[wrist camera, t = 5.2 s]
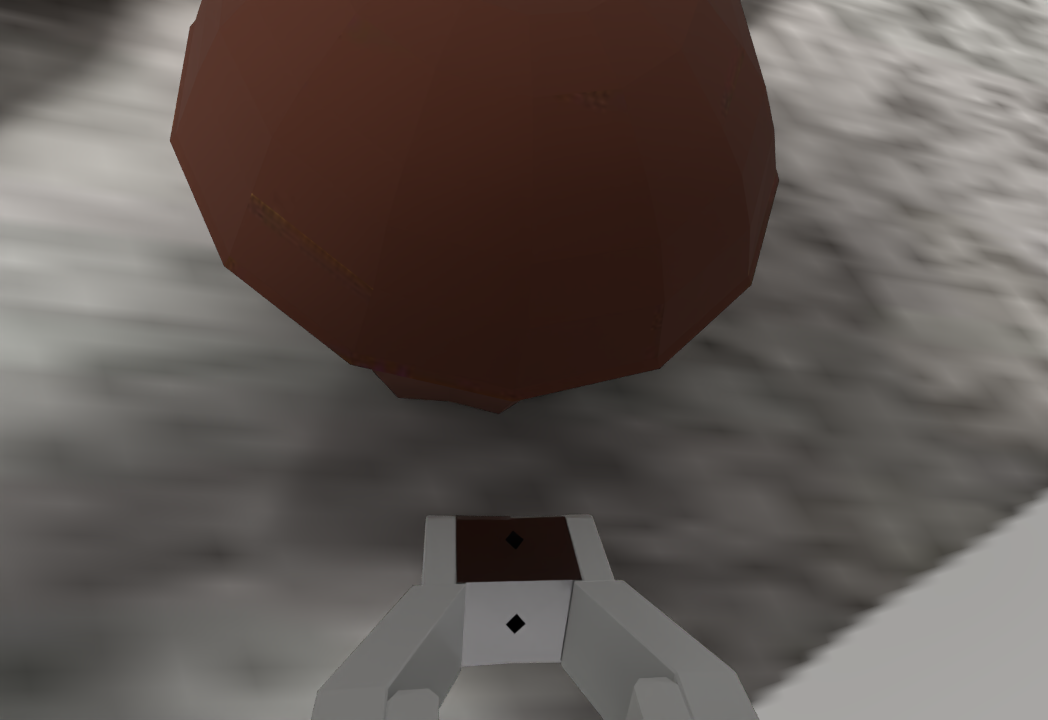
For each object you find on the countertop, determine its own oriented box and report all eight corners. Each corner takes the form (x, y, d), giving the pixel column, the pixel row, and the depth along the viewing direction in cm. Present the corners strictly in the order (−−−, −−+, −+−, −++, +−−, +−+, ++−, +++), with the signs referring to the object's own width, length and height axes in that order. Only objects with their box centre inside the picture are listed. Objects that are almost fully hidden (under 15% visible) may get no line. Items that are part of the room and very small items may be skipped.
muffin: (217, 179, 17) (-57, -300, 8) (538, 79, 20) (623, -348, 11) (383, 549, 14) (271, 508, 5) (727, 364, 17) (1072, 120, 8)
